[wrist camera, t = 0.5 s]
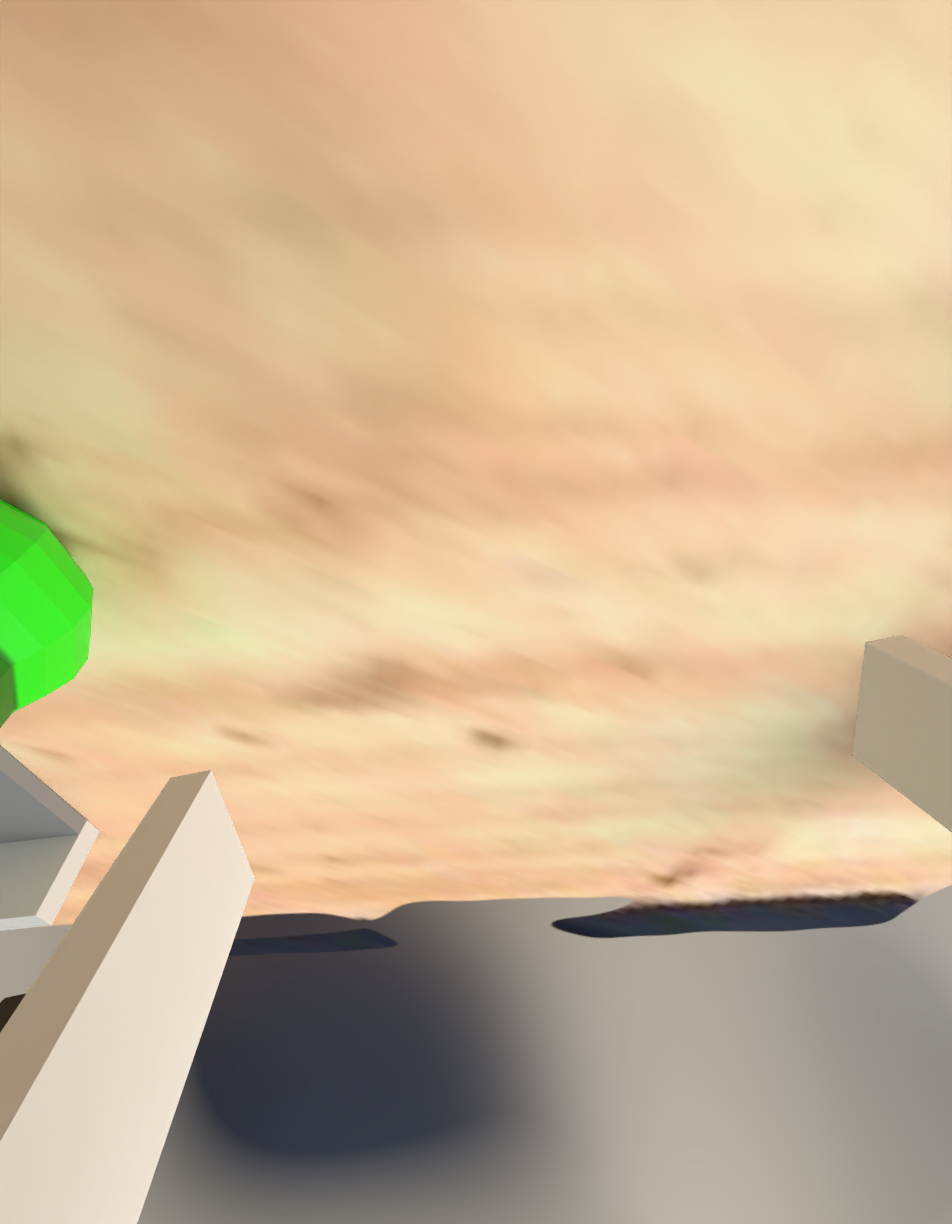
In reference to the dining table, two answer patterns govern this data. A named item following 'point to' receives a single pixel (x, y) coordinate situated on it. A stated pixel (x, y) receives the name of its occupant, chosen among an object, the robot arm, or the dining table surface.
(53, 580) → the plastic bottle
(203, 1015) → the robot arm
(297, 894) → the dining table surface
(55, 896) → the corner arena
